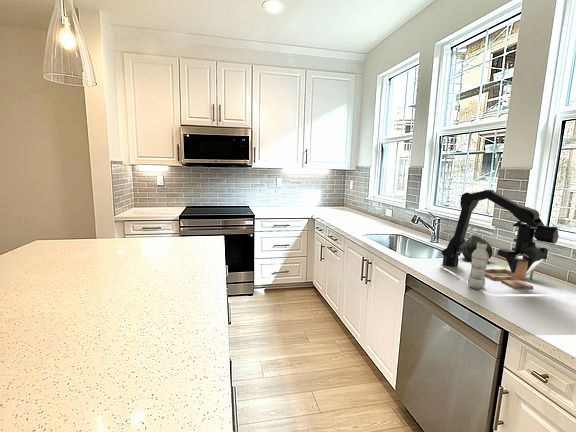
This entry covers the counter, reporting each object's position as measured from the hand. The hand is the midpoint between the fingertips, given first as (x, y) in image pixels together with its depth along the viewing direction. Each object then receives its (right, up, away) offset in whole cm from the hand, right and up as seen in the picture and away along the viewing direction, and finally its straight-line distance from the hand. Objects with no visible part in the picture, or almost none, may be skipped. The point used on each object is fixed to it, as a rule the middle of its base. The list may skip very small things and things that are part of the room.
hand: (518, 272), depth 134 cm
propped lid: (+13, -5, +14) cm, 19 cm away
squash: (+5, 0, +39) cm, 40 cm away
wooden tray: (0, -5, +12) cm, 13 cm away
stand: (0, -7, +1) cm, 7 cm away
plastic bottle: (-20, -7, -2) cm, 21 cm away
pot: (0, -2, 0) cm, 2 cm away
